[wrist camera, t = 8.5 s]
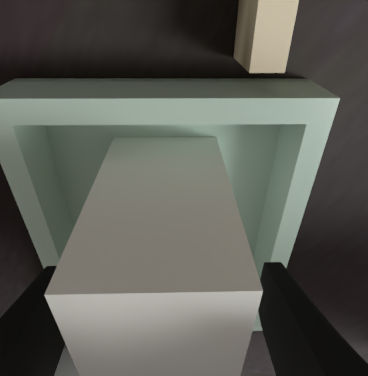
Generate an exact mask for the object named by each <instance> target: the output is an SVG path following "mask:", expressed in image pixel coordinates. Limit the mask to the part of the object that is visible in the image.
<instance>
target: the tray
mask: <svg viewBox="0 0 368 376" xmlns="http://www.w3.org/2000/svg"><path fill="white" fill-rule="evenodd" d="M339 100H340V98H339V97H337V96H336V95H334V94H332V93H331V92H329V91H327V90H325V89H324V88H322V87H320V86H319V85H317V84H315V83H314V82H312V81H310V80H309V79H307V78H15V79H13V80H11V81H9V82H7V83H5V84H3V85H1V86H0V164H1V166H2V169H3V171H4V173H5V176H6V178H7V181H8V183H9V186H10V188H11V190H12V193H13V195H14V198H15V200H16V203H17V205H18V207H19V210H20V212H21V215H22V217H23V220H24V222H25V225H26V227H27V229H28V232H29V234H30V237H31V239H32V242H33V244H34V246H35V249H36V251H37V254H38V256H39V259H40V261H41V264H42V266H43V268H45V267H46V266H57V265H58V263H59V260H60V258H61V256H62V254H63V251H64V249H65V247H66V244H67V242H68V240H69V238H70V235H71V233H72V231H73V229H74V226H75V224H76V222H77V220H78V217H79V215H80V213H81V211H82V208H83V206H84V204H85V201H86V199H87V197H88V195H89V192H90V190H91V188H92V186H93V183H94V181H95V179H96V177H97V174H98V172H99V170H100V168H101V165H102V163H103V161H104V159H105V156H106V154H107V152H108V149H109V147H110V145H111V143H112V140H113V138H114V137H216V138H217V141H218V144H219V148H220V151H221V154H222V158H223V161H224V164H225V167H226V171H227V174H228V177H229V180H230V184H231V187H232V190H233V194H234V197H235V200H236V203H237V207H238V210H239V213H240V216H241V220H242V223H243V226H244V230H245V233H246V236H247V239H248V243H249V246H250V249H251V252H252V256H253V259H254V262H255V266H256V269H257V272H258V275H259V279H260V277H261V273H262V269H263V265H264V262H281V263H282V264H283V265H284V266H285V268H287V265H288V262H289V258H290V255H291V252H292V249H293V246H294V243H295V239H296V236H297V233H298V230H299V227H300V224H301V220H302V217H303V214H304V211H305V208H306V205H307V201H308V198H309V195H310V192H311V189H312V186H313V182H314V179H315V176H316V173H317V170H318V167H319V164H320V160H321V157H322V154H323V151H324V148H325V145H326V141H327V138H328V135H329V132H330V129H331V126H332V122H333V119H334V116H335V113H336V110H337V107H338V103H339ZM253 331H263V330H262V327H261V322H260V317H259V312H257V316H256V320H255V323H254V327H253Z"/></svg>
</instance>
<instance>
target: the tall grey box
mask: <svg viewBox="0 0 368 376" xmlns="http://www.w3.org/2000/svg"><path fill="white" fill-rule="evenodd" d="M262 294H263V289H262V285H261V282H260V279H259V275H258V272H257V269H256V266H255V262H254V259H253V256H252V252H251V249H250V246H249V243H248V239H247V236H246V233H245V230H244V226H243V223H242V220H241V216H240V213H239V210H238V207H237V203H236V200H235V197H234V194H233V190H232V187H231V184H230V180H229V177H228V174H227V171H226V167H225V164H224V161H223V158H222V154H221V151H220V148H219V144H218V141H217V138H216V137H114V138H113V140H112V143H111V145H110V147H109V149H108V152H107V154H106V156H105V159H104V161H103V163H102V165H101V168H100V170H99V172H98V174H97V177H96V179H95V181H94V183H93V186H92V188H91V190H90V192H89V195H88V197H87V199H86V201H85V204H84V206H83V208H82V211H81V213H80V215H79V217H78V220H77V222H76V224H75V226H74V229H73V231H72V233H71V235H70V238H69V240H68V242H67V244H66V247H65V249H64V251H63V254H62V256H61V258H60V260H59V263H58V265H57V267H56V269H55V272H54V274H53V276H52V278H51V281H50V283H49V285H48V287H47V290H46V292H45V294H44V296H45V298H46V300H47V302H48V305H49V307H50V309H51V312H52V314H53V316H54V319H55V321H56V323H57V325H58V328H59V330H60V332H61V335H62V337H63V339H64V341H65V344H66V346H67V348H68V351H69V353H70V355H71V357H72V359H73V362H74V364H75V366H76V369H77V371H78V373H79V376H240V374H241V371H242V367H243V364H244V360H245V356H246V353H247V349H248V345H249V342H250V338H251V334H252V331H253V327H254V323H255V320H256V316H257V312H258V309H259V305H260V301H261V297H262Z"/></svg>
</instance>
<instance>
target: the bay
mask: <svg viewBox="0 0 368 376" xmlns="http://www.w3.org/2000/svg"><path fill="white" fill-rule="evenodd" d="M298 3H299V0H239V6H238V16H237V26H236V37H235V47H234V57H233V58H234V59H235V60H236V61H237V62H238V63H239V64H241V65H242V66H243V67H244V68H245V69H246V70H247V71H248V72H249V73H285V69H286V64H287V59H288V54H289V49H290V44H291V39H292V34H293V28H294V23H295V18H296V13H297V8H298Z"/></svg>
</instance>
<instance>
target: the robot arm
mask: <svg viewBox="0 0 368 376" xmlns="http://www.w3.org/2000/svg"><path fill="white" fill-rule="evenodd" d="M56 267H57V266H46V267H45V268H44V270H43V271H42V272H41V273H40V274H39V275H38V276H37V277H36V279H35V280H34V281H33V282H32V283H31V284H30V285H29V287H28V288H27V289H26V290H25V291H24V292H23V293H22V295H21V296H20V297H19V298H18V299H17V300H16V301H15V302H14V304H13V305H12V306H11V307H10V308H9V309H8V310H7V311H6V312H5V313H4V314H3V315H2V317H1V318H0V376H54V374H55V371H56V368H57V365H58V362H59V360H60V356H61V354H62V351H63V348H64V345H65V341H64V339H63V337H62V335H61V332H60V330H59V328H58V325H57V323H56V321H55V319H54V316H53V314H52V312H51V309H50V307H49V305H48V302H47V300H46V298H45V296H44V294H45V292H46V290H47V287H48V285H49V283H50V281H51V278H52V276H53V274H54V272H55V269H56ZM260 282H261V285H262V289H263V294H262V297H261V301H260V305H259V309H258V312H259V317H260V322H261V327H262V330H263V333H264V337H265V340H266V343H267V347H268V350H269V353H270V356H271V360H272V363H273V366H274V369H275V373H276V376H368V364H367V363H366V362H365V360H364V359H363V358H362V357H361V356H360V355H359V354H358V353H357V352H356V351H355V350H354V349H353V348H352V347H351V346H350V345H349V344H348V343H347V341H346V340H345V339H344V338H343V337H342V336H341V335H340V334H339V333H338V332H337V330H336V329H335V328H334V327H333V326H332V325H331V324H330V322H329V321H328V320H327V319H326V318H325V317H324V315H323V314H322V313H321V312H320V311H319V309H318V308H317V307H316V306H315V305H314V303H313V302H312V301H311V300H310V298H309V297H308V296H307V295H306V293H305V292H304V291H303V290H302V288H301V287H300V286H299V285H298V283H297V282H296V281H295V279H294V278H293V277H292V275H291V274H290V273H289V271H288V270H287V269H286V268H285V266H284V265H283V264H282V263H281V262H264V265H263V269H262V273H261V277H260Z"/></svg>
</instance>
